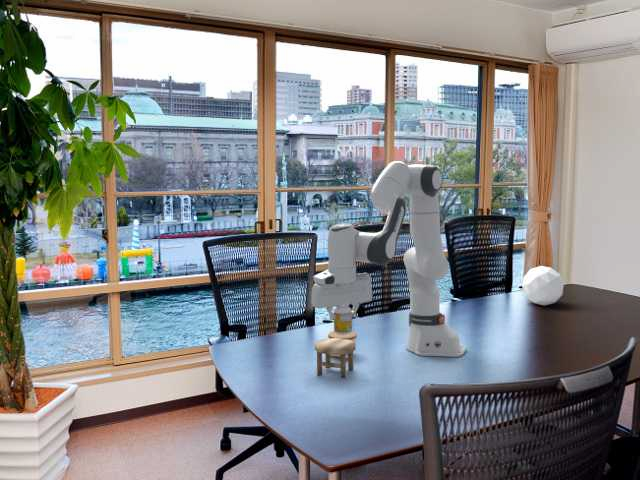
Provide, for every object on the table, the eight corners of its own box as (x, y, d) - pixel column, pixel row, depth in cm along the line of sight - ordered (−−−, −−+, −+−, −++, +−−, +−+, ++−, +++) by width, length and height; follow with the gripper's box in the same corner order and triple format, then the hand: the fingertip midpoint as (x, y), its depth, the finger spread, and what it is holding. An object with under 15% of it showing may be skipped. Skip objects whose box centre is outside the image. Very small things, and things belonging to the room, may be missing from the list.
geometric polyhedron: (549, 319, 300) (559, 293, 286) (511, 301, 309) (519, 274, 295) (565, 295, 310) (575, 269, 296) (528, 278, 319) (535, 252, 305)
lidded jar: (360, 350, 233) (359, 327, 232) (352, 359, 223) (352, 334, 222) (333, 348, 236) (333, 325, 235) (324, 356, 226) (324, 332, 225)
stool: (360, 367, 214) (360, 340, 212) (348, 381, 201) (348, 352, 199) (323, 363, 219) (322, 336, 217) (309, 376, 206) (308, 348, 204)
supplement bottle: (333, 330, 196) (332, 299, 195) (350, 329, 197) (349, 298, 195) (335, 335, 190) (334, 303, 189) (353, 334, 191) (352, 302, 190)
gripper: (366, 270, 198) (366, 312, 200) (308, 276, 190) (309, 320, 192) (375, 273, 193) (376, 316, 194) (317, 280, 184) (318, 324, 186)
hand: (342, 318), depth 193 cm, fingers closed on supplement bottle, 6 cm apart
